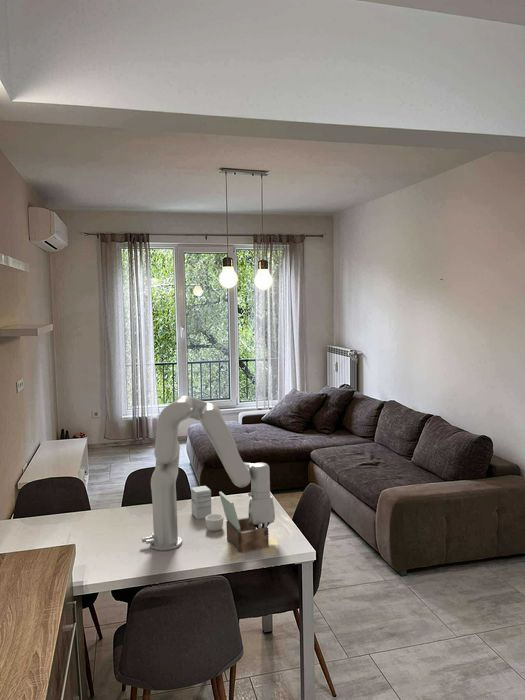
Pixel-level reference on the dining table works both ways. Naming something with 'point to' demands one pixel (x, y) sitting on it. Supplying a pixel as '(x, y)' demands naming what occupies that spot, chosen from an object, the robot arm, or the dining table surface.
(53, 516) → the dining table surface
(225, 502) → the cover
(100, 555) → the dining table surface
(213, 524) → the teacup
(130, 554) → the dining table surface
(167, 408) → the robot arm
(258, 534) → the wooden u-shaped stand
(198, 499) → the supplement box
